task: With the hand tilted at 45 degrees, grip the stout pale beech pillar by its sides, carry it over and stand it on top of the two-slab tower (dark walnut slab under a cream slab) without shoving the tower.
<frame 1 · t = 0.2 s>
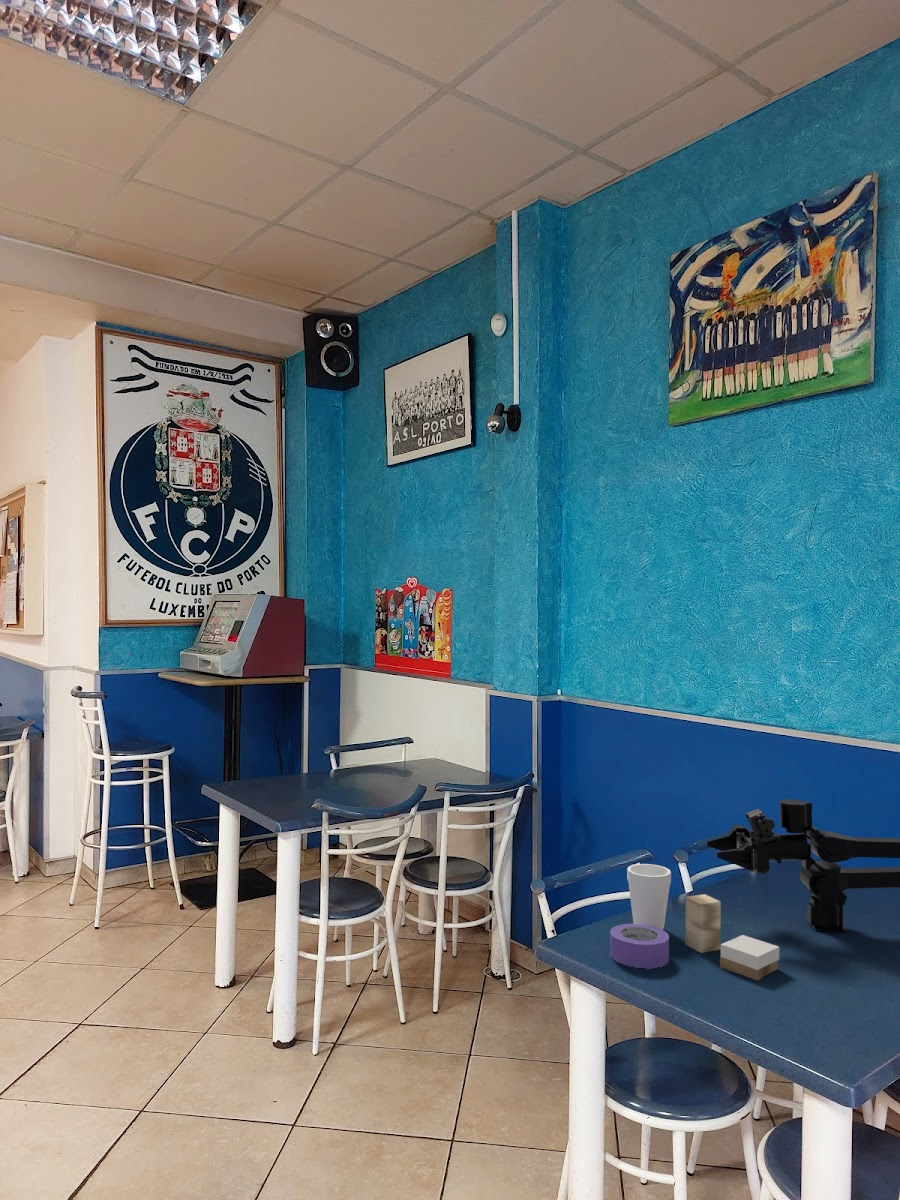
hand: (711, 849, 195), 17 cm above the table, tool horizontal, fingers open, 9 cm apart
cream slab: (749, 958, 171), point 2 cm above the table, touching walnut slab
walnut slab: (749, 970, 171), on the table, touching cream slab
foam cup: (648, 929, 191), on the table
beech pillar: (702, 946, 181), on the table
tape roll: (639, 959, 176), on the table
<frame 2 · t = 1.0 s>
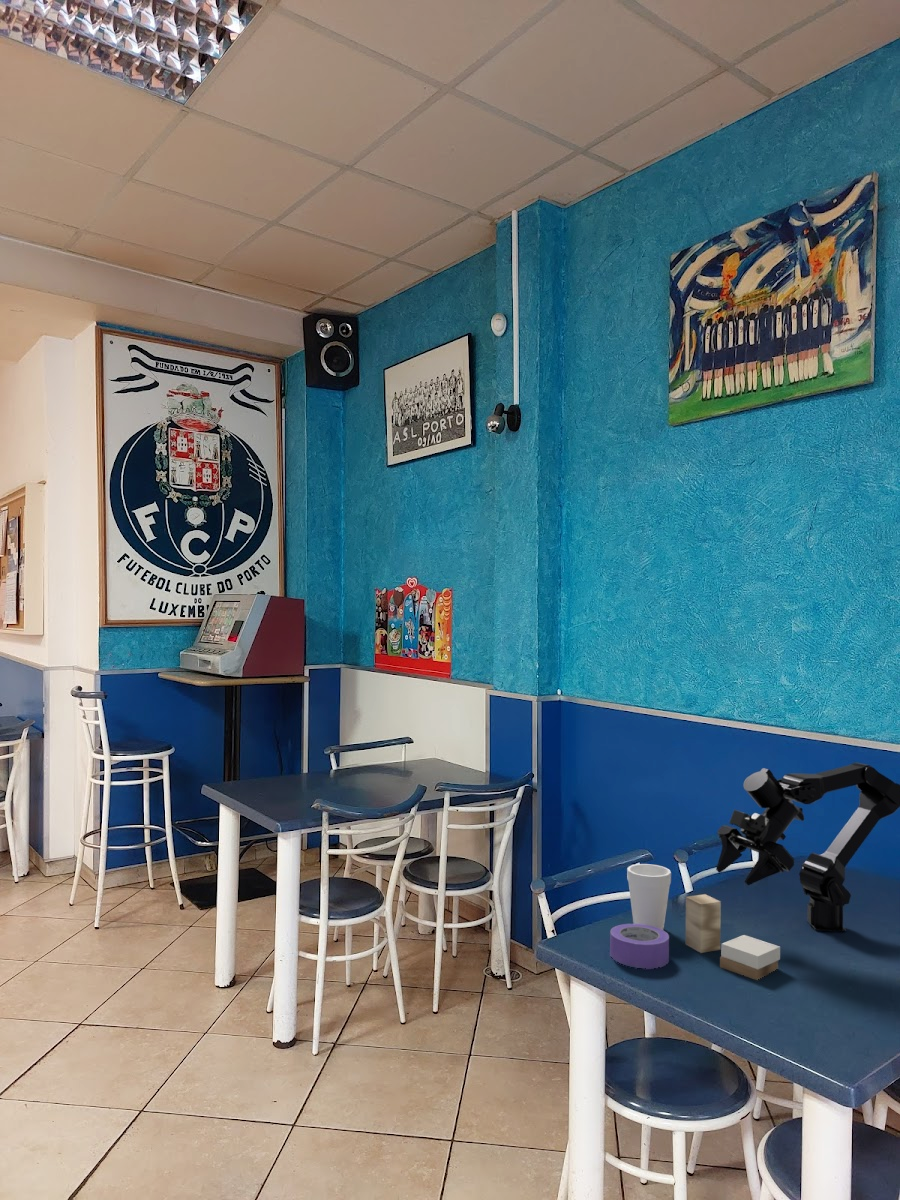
hand: (731, 877, 184), 14 cm above the table, tool tilted 45°, fingers open, 9 cm apart
nothing on the table moved.
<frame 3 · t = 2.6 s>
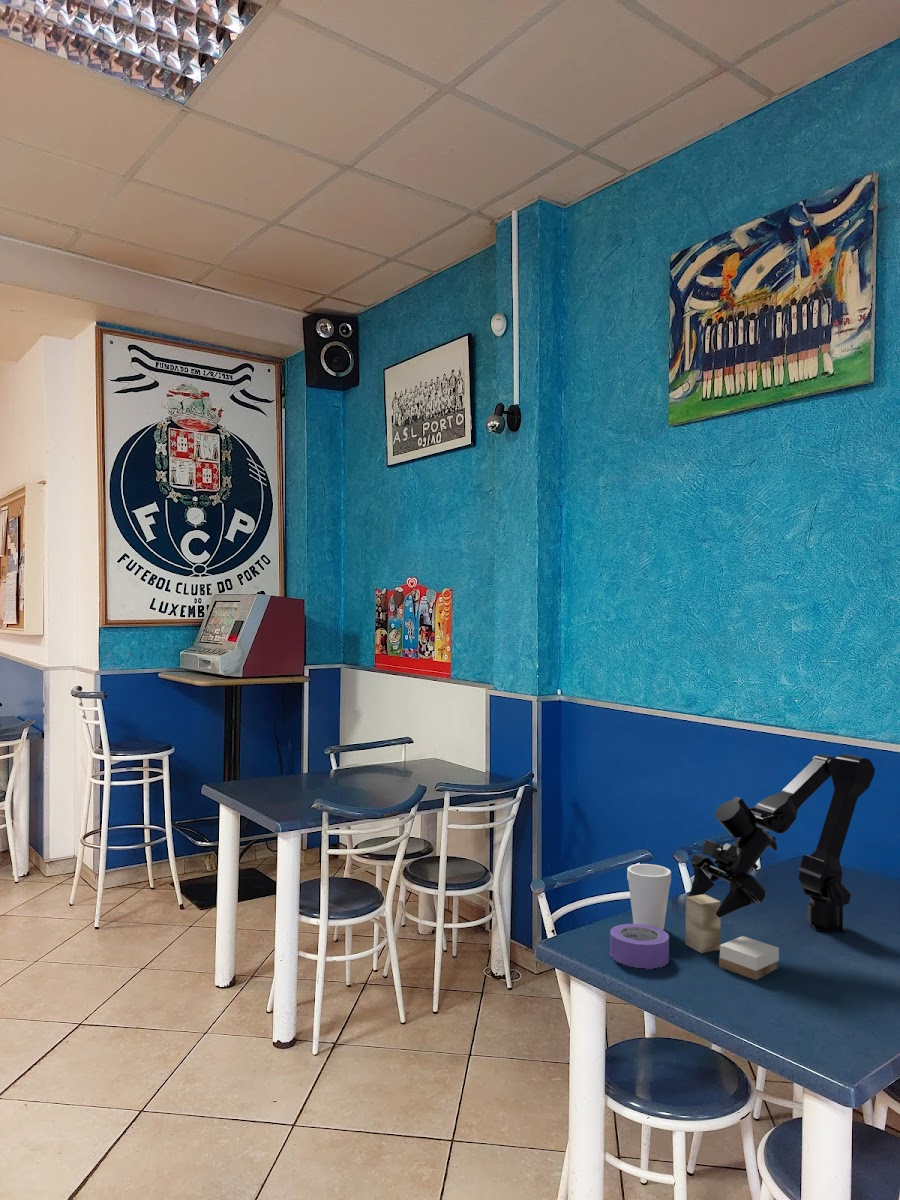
hand: (703, 908, 181), 8 cm above the table, tool tilted 45°, fingers open, 9 cm apart
cream slab: (749, 959, 170), point 2 cm above the table
walnut slab: (748, 970, 171), on the table
everything else where it was.
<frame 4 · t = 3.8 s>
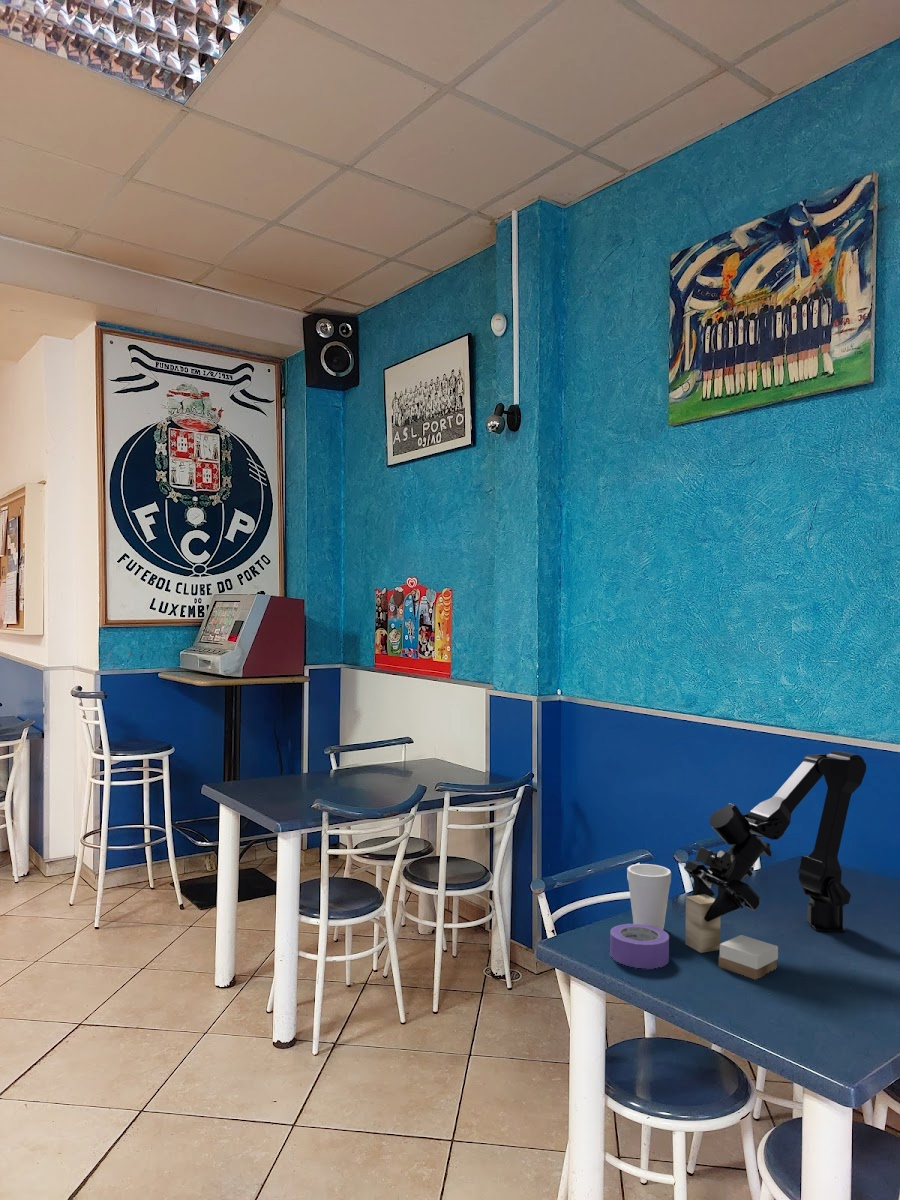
hand: (697, 916, 181), 7 cm above the table, tool tilted 45°, fingers closed on beech pillar, 5 cm apart
cream slab: (748, 957, 171), point 2 cm above the table, touching walnut slab
walnut slab: (747, 970, 171), on the table, touching cream slab
beech pillar: (702, 946, 181), on the table, touching gripper
everything else where it was.
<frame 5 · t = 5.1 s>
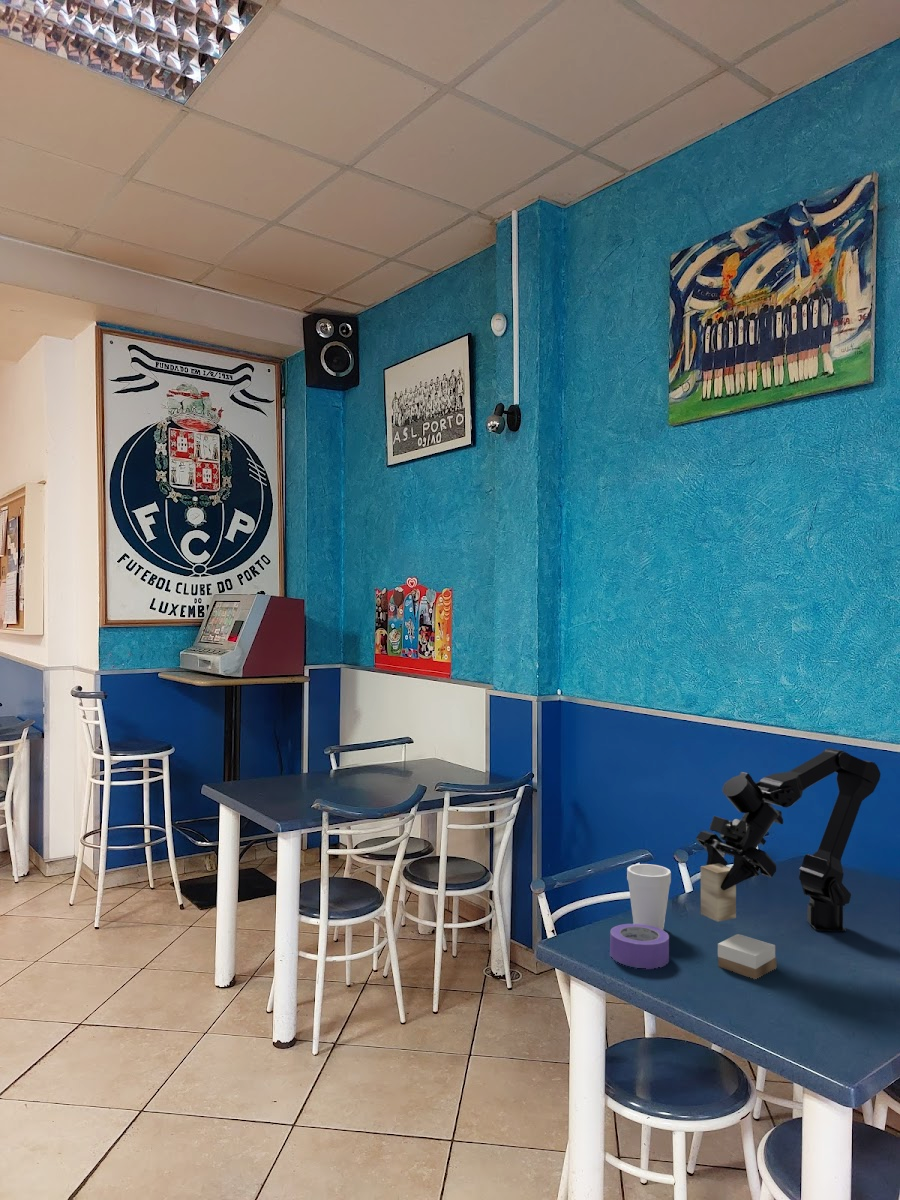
hand: (713, 885, 180), 13 cm above the table, tool tilted 45°, fingers closed on beech pillar, 5 cm apart
beech pillar: (718, 915, 181), point 7 cm above the table, touching gripper
everything else where it was.
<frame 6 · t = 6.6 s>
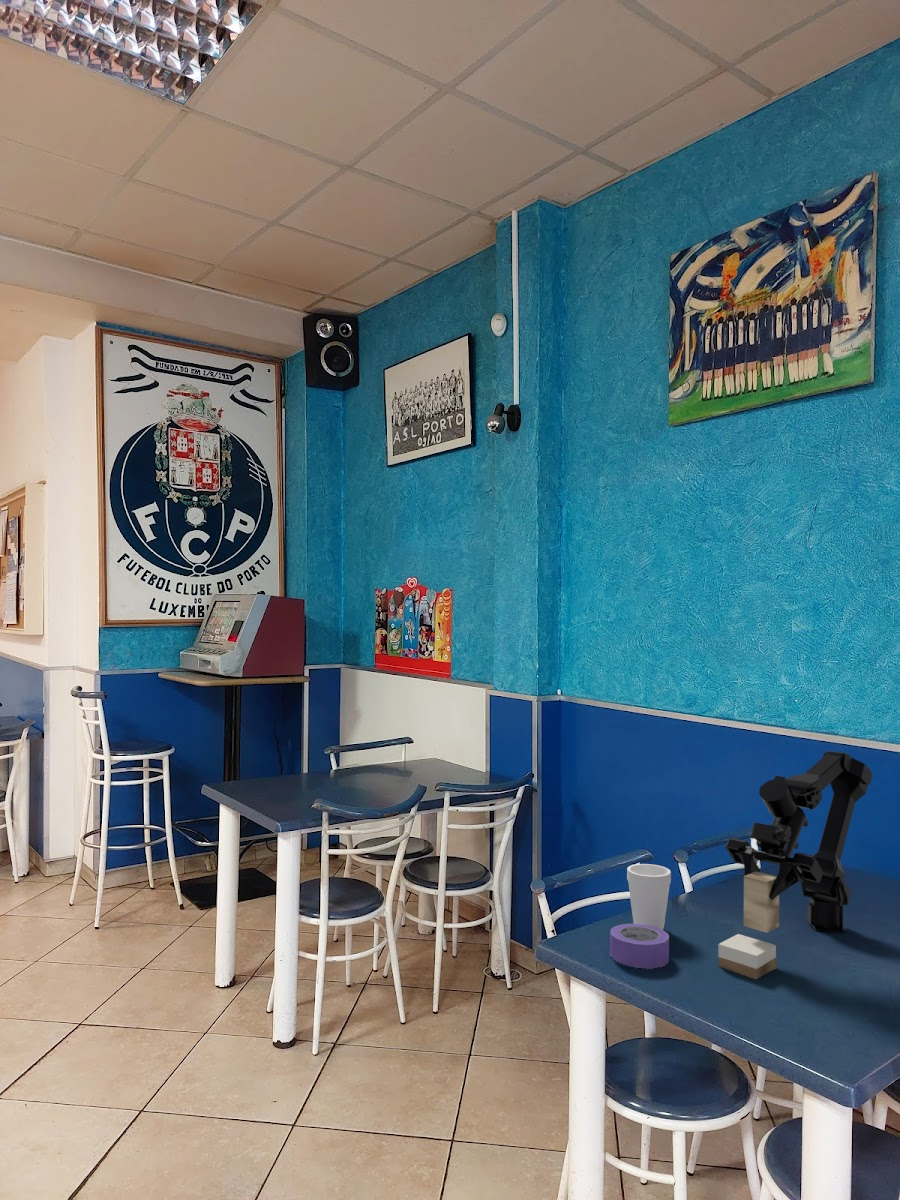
hand: (758, 894, 173), 14 cm above the table, tool tilted 45°, fingers closed on beech pillar, 5 cm apart
beech pillar: (761, 926, 174), point 7 cm above the table, touching gripper
everything else where it was.
when the fingers open (12 cm above the table, at t = 8.4 s): beech pillar stays where it is, resting on cream slab.
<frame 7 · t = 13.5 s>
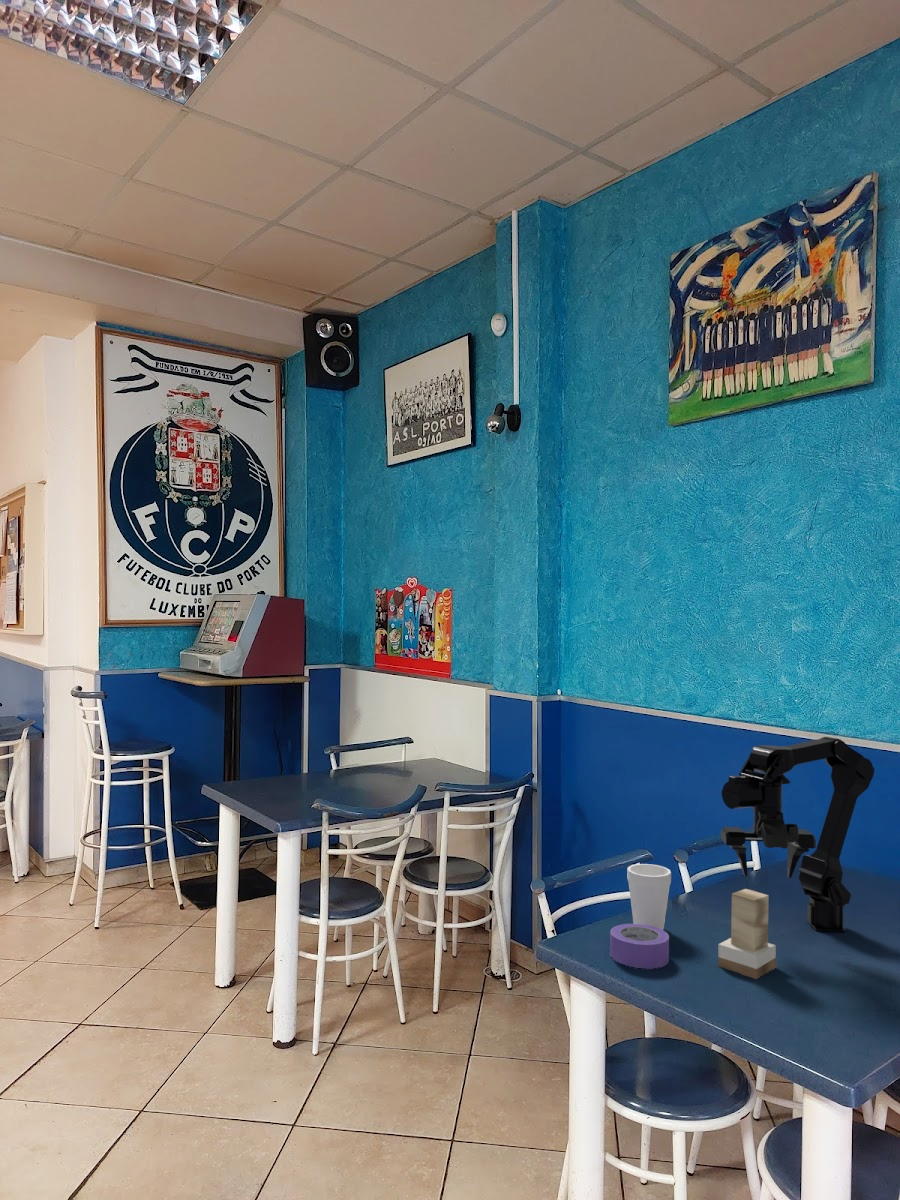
hand: (767, 877, 187), 13 cm above the table, tool pointing down, fingers open, 9 cm apart
cream slab: (746, 957, 171), point 2 cm above the table, touching beech pillar, walnut slab
beech pillar: (749, 945, 171), point 4 cm above the table, touching cream slab
everything else where it was.
at the end: beech pillar 0.4 cm off-centre on the cream slab, point 2.5 cm above the cream slab's base; beech pillar tilted 0°; cream slab moved 0.8 cm from its start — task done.
